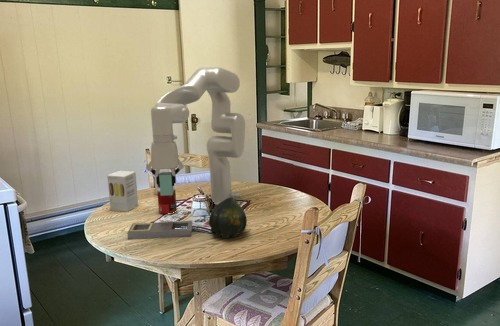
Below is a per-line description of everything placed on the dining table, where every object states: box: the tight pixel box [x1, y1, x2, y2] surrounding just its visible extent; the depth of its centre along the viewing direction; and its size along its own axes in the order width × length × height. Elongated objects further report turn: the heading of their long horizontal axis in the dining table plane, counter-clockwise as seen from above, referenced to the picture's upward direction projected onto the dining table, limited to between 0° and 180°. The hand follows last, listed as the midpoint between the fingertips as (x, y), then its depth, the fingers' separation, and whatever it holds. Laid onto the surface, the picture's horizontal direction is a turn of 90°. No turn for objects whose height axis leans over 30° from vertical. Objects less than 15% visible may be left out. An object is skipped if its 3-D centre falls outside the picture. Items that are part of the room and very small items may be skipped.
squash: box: [208, 197, 248, 239], centre depth 167 cm, size 14×15×15 cm
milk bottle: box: [153, 169, 170, 196], centre depth 220 cm, size 8×8×20 cm
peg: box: [159, 171, 174, 196], centre depth 167 cm, size 4×4×8 cm
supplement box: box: [107, 170, 139, 213], centre depth 199 cm, size 10×9×17 cm
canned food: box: [156, 186, 177, 216], centre depth 193 cm, size 8×8×11 cm
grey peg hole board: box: [127, 220, 193, 240], centre depth 171 cm, size 24×10×3 cm, turn 93°
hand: (166, 185), depth 167 cm, fingers closed on peg, 4 cm apart
